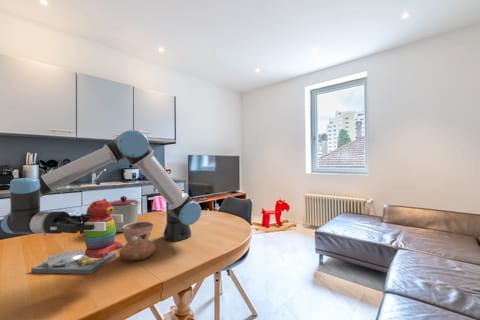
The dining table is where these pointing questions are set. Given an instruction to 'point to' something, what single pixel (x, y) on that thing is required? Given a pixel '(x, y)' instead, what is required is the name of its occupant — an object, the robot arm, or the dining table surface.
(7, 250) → the dining table surface
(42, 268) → the gear board
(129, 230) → the ceramic jug
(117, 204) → the canister
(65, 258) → the gear
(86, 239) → the stacking bear
